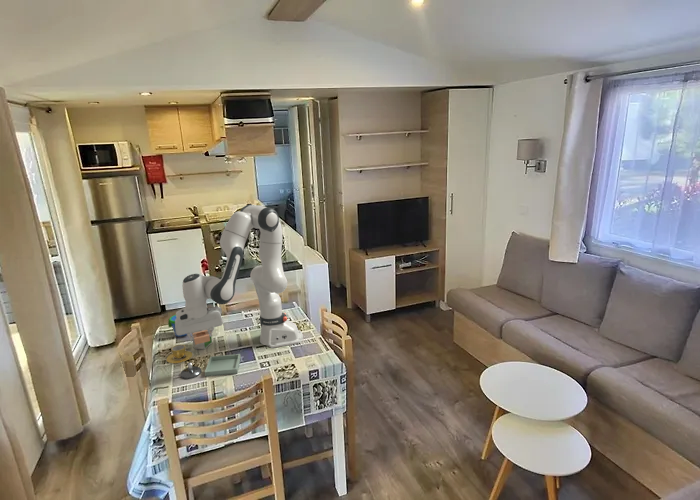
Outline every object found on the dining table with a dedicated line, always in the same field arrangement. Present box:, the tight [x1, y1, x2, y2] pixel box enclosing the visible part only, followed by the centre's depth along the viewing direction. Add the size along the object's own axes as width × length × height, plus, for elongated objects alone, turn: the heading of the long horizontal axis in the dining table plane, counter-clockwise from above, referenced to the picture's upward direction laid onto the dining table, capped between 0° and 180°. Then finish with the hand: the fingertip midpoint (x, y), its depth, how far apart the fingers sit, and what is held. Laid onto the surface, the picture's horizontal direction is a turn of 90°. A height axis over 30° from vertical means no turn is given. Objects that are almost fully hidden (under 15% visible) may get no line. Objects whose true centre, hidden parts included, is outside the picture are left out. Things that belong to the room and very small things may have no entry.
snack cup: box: [167, 314, 187, 338], centre depth 233 cm, size 16×10×10 cm
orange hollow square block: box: [193, 330, 210, 345], centre depth 193 cm, size 6×6×3 cm
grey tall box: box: [191, 328, 213, 350], centre depth 218 cm, size 8×7×16 cm
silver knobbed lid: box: [179, 361, 202, 380], centre depth 194 cm, size 9×9×5 cm
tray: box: [204, 353, 242, 378], centre depth 199 cm, size 14×14×2 cm
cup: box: [165, 344, 193, 364], centre depth 209 cm, size 12×12×5 cm
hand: (201, 338), depth 193 cm, fingers closed on orange hollow square block, 6 cm apart
